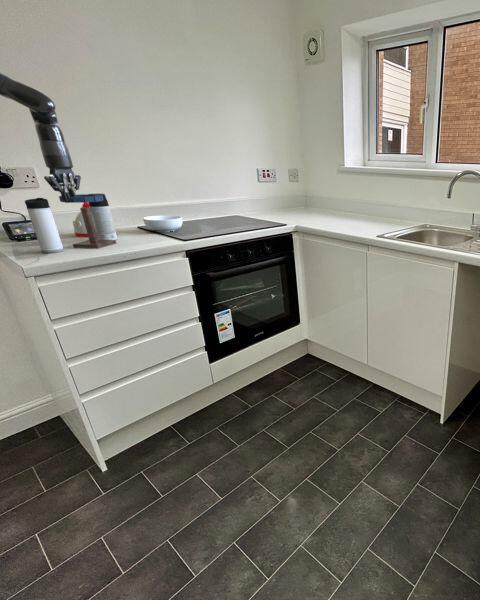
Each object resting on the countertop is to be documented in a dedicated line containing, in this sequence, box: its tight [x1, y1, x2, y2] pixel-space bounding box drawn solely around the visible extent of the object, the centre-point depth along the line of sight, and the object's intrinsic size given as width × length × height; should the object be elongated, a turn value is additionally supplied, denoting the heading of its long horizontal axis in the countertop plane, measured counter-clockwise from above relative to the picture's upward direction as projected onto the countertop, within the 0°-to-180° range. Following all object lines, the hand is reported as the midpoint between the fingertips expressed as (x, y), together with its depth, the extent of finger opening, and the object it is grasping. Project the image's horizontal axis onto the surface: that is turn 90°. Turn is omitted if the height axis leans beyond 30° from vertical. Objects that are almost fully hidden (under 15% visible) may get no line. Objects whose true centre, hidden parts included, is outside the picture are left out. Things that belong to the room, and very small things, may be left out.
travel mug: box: [24, 197, 65, 254], centre depth 133 cm, size 6×7×20 cm
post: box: [72, 207, 117, 249], centre depth 145 cm, size 10×10×16 cm
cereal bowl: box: [142, 215, 183, 233], centre depth 179 cm, size 17×17×7 cm
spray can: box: [88, 193, 118, 241], centre depth 154 cm, size 7×7×20 cm
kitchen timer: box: [72, 202, 98, 238], centre depth 165 cm, size 14×14×15 cm
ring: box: [58, 193, 104, 204], centre depth 141 cm, size 13×13×2 cm
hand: (70, 202), depth 136 cm, fingers closed on ring, 2 cm apart
